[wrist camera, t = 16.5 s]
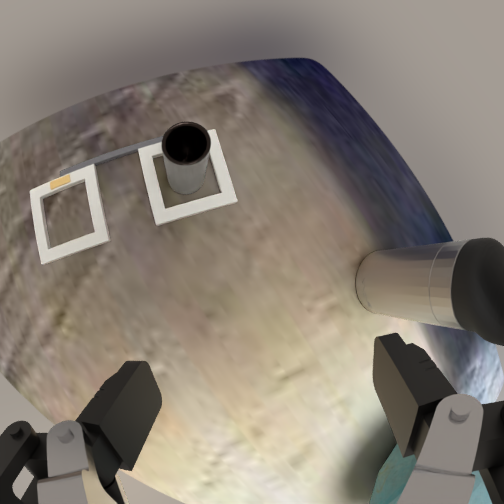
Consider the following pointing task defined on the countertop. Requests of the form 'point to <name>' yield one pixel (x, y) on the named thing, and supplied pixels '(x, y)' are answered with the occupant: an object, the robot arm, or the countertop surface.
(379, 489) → the sculpture
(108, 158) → the thin gray bar
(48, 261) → the socket
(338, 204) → the countertop surface
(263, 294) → the countertop surface
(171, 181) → the planter
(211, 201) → the socket
